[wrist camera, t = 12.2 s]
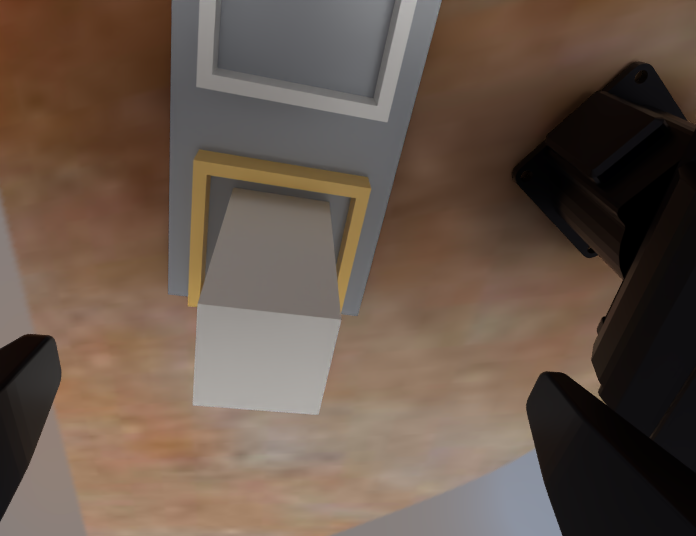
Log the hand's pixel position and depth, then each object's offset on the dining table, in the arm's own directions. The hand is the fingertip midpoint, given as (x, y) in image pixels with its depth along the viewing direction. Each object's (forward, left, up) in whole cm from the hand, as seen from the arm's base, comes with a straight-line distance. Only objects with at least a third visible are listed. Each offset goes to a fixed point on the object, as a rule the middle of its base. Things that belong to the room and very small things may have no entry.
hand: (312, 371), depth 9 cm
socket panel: (+1, 0, -13) cm, 13 cm away
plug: (-1, +4, -12) cm, 13 cm away
